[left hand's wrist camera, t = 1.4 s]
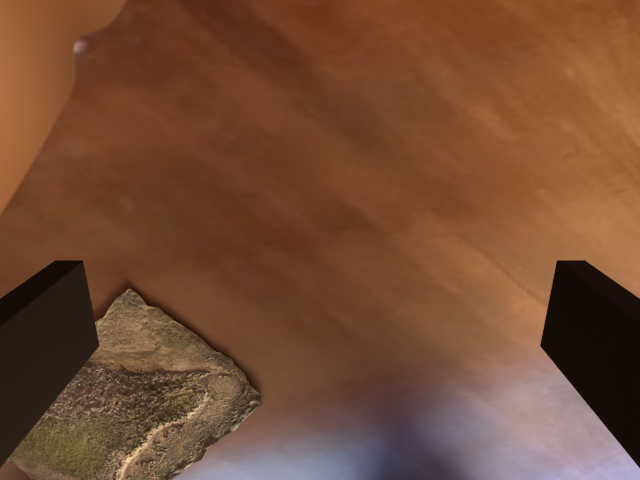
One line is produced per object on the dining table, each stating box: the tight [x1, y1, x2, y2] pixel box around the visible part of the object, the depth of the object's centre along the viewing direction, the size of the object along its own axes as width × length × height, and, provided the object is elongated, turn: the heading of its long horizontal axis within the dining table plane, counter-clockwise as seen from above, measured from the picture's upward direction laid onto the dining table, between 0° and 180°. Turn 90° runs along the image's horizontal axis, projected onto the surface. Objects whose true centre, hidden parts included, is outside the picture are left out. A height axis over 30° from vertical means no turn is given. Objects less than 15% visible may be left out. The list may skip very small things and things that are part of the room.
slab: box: [7, 289, 263, 480], centre depth 48 cm, size 28×20×1 cm
